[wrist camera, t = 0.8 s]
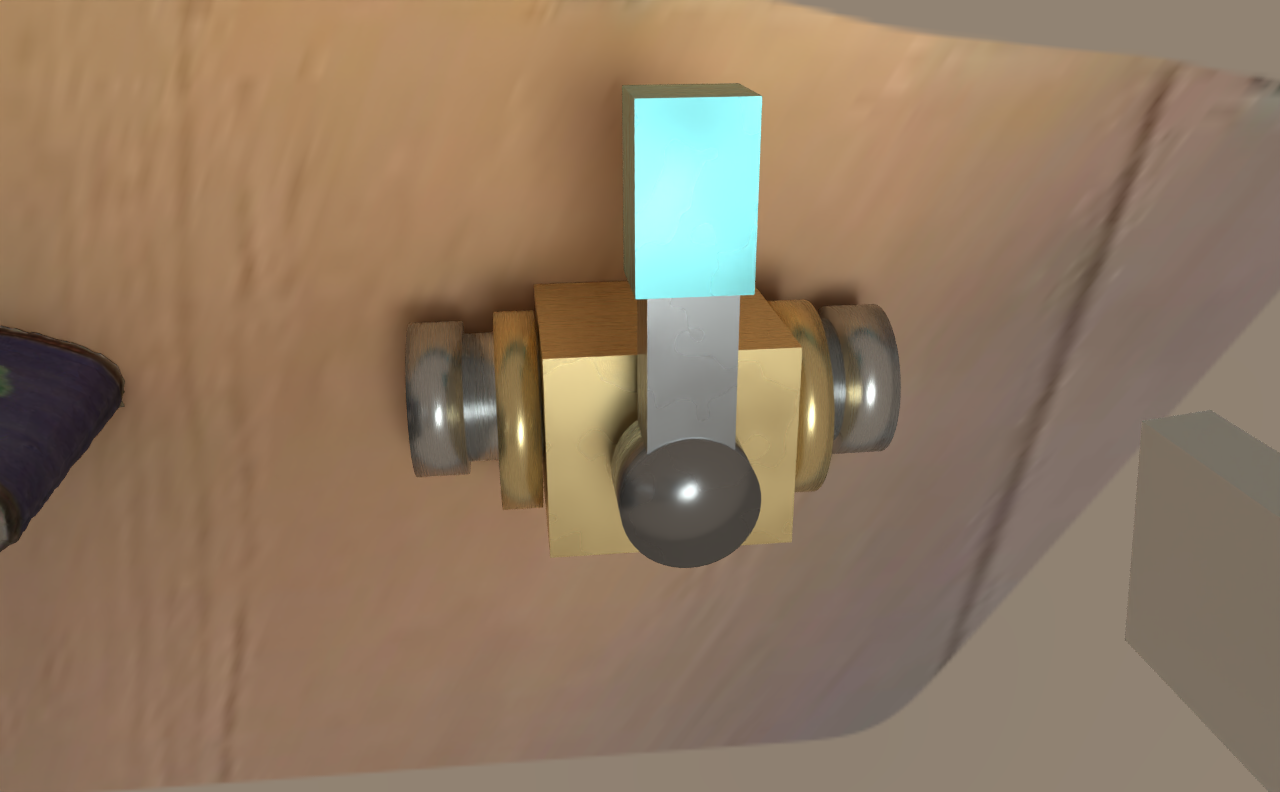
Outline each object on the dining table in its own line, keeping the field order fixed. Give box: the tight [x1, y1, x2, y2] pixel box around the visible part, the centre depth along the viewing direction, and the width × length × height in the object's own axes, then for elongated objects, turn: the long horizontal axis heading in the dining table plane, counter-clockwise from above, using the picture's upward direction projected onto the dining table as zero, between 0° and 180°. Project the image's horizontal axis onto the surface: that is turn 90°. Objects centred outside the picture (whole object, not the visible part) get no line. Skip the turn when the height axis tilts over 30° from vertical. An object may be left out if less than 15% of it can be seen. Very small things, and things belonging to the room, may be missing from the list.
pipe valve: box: [405, 281, 901, 558], centre depth 34 cm, size 15×6×8 cm, turn 90°
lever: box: [611, 83, 762, 568], centre depth 27 cm, size 12×4×2 cm, turn 0°
